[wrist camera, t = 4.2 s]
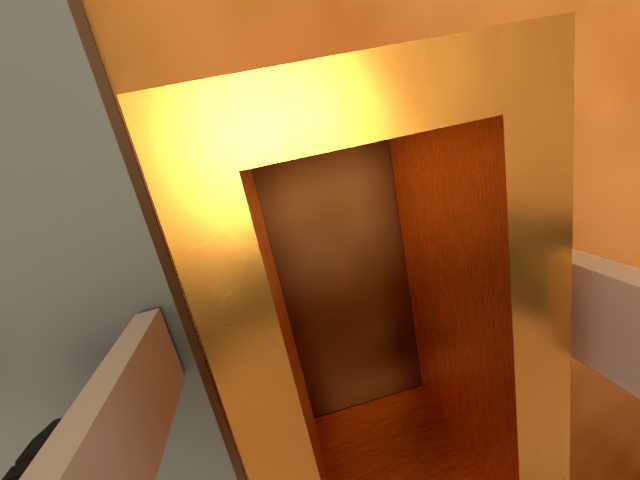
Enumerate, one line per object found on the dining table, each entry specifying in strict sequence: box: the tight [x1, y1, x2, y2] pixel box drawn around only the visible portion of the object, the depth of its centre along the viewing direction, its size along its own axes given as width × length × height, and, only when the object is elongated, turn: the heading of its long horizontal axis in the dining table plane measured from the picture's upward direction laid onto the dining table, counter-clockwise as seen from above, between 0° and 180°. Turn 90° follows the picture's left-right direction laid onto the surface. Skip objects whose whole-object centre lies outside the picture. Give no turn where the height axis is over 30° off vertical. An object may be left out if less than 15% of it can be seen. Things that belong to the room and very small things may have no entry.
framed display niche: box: [117, 12, 575, 480], centre depth 10 cm, size 14×8×6 cm, turn 12°
